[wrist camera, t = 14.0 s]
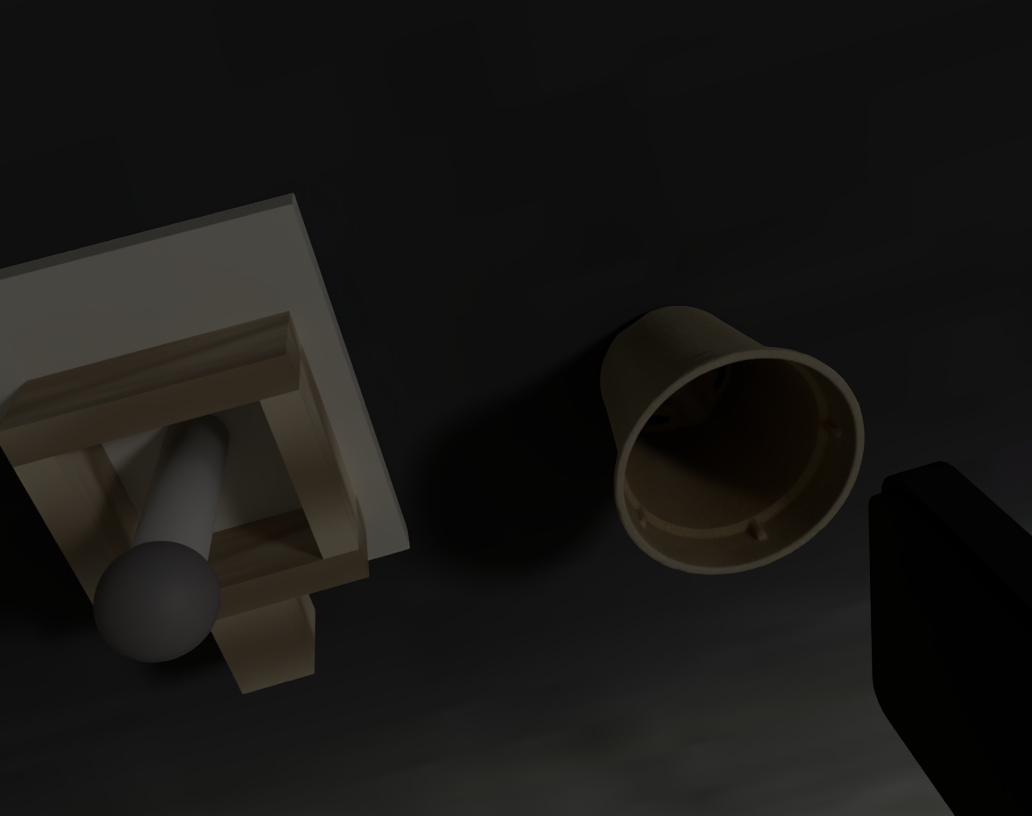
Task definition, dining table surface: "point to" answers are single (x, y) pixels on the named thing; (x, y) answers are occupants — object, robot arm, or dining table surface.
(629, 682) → the dining table surface
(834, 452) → the flower pot
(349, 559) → the birch loop
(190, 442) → the post stand
